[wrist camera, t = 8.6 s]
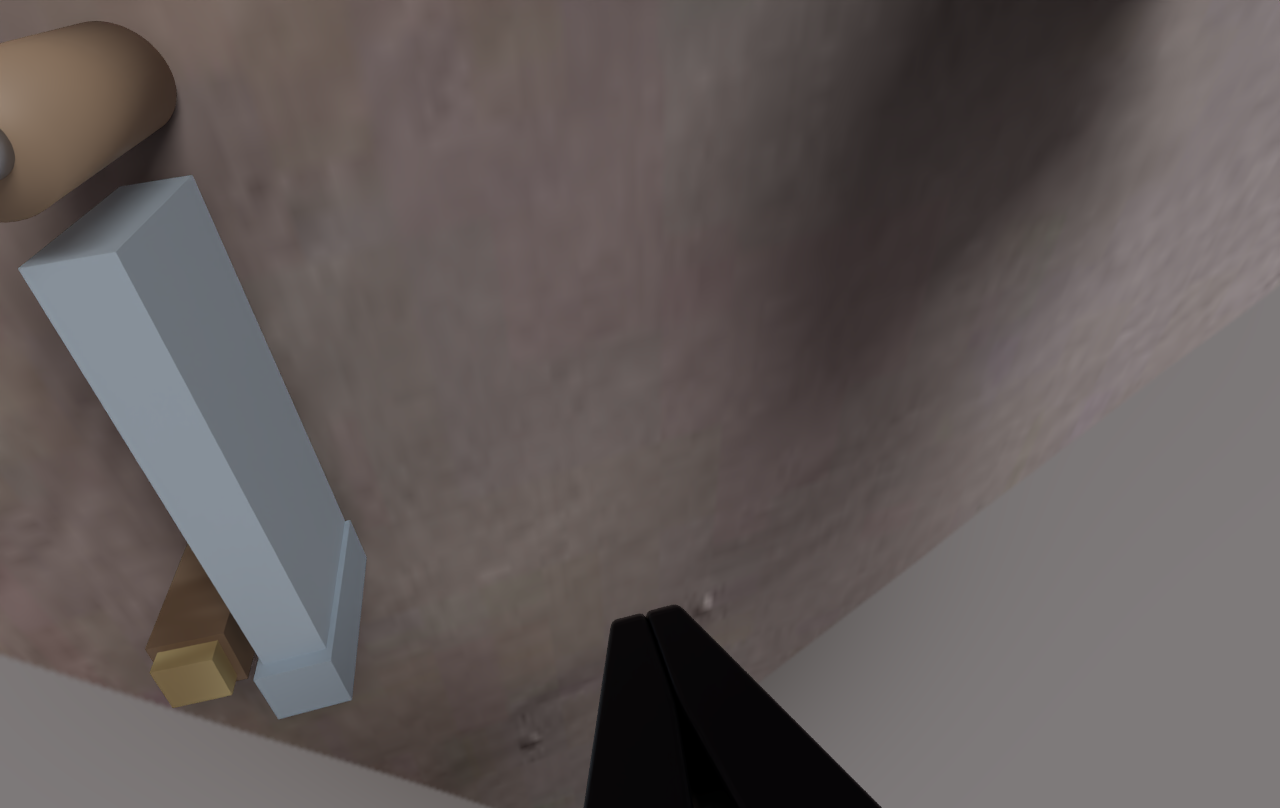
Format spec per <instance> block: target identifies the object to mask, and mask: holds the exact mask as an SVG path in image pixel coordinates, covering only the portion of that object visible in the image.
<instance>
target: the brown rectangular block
mask: <svg viewBox="0 0 1280 808" xmlns="http://www.w3.org/2000/svg"><path fill="white" fill-rule="evenodd" d="M145 650H146V652H147V653H148V655H149V656H150V658H151V659H152V661H153V662H154V663H153V665H152V668H151V671H150V674H151V676H152V677H153V679H154V680H155V682H156V683H157V685H158V686H159V688H160V689H161V691H162V692H163V694H164V695H165V697H166V698H167V700H168V702H169V703H170V705H171V706H172V708H175V707H180V706H184V705H189V704H193V703H198V702H202V701H207V700H212V699H216V698H221V697H225V696H230V695H232V694H233V690H234V686H235V682H236V681H239V680H243V679H248V677H249V672H250V668H251V664H252V660H253V656H254V652H255V651H254V649H253V648H252V646H251V644H250V643H249V641H248V640H247V638H246V636H245V635H244V633H243V632H242V630H241V628H240V627H239V625H238V623H237V622H236V620H235V619H234V617H233V615H232V614H231V612H230V611H229V609H228V607H227V606H226V604H225V602H224V601H223V599H222V598H221V596H220V594H219V593H218V591H217V590H216V588H215V586H214V585H213V583H212V581H211V580H210V578H209V577H208V575H207V573H206V572H205V570H204V569H203V567H202V565H201V564H200V562H199V560H198V559H197V557H196V556H195V554H194V552H193V551H192V549H191V548H190V546H189V544H187V546H186V549H185V551H184V554H183V556H182V559H181V561H180V564H179V566H178V569H177V571H176V574H175V576H174V579H173V581H172V584H171V586H170V589H169V591H168V594H167V596H166V599H165V601H164V604H163V606H162V608H161V611H160V613H159V616H158V618H157V621H156V623H155V626H154V628H153V631H152V633H151V636H150V638H149V641H148V643H147V646H146V648H145Z"/></svg>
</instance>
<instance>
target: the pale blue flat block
mask: <svg viewBox="0 0 1280 808" xmlns="http://www.w3.org/2000/svg"><path fill="white" fill-rule="evenodd" d="M176 97H177V93H176V85H175V81H174V78H173V75H172V72H171V70H170V68H169V66H168V65H167V63H166V61H165V60H164V58H163V57H162V56H161V55H160V53H159V52H158V51H157V50H156V49H155V48H154V47H153V46H152V45H151V44H150V43H149V42H148V41H146V40H145V39H144V38H142V37H141V36H140V35H138V34H137V33H135V32H133V31H131V30H129V29H127V28H125V27H122V26H120V25H116V24H113V23H108V22H101V21H90V22H84V23H79V24H75V25H71V26H67V27H63V28H59V29H55V30H51V31H47V32H43V33H39V34H35V35H31V36H27V37H23V38H19V39H15V40H11V41H7V42H3V43H0V222H15V221H20V220H24V219H28V218H30V217H33V216H36V215H37V214H39V213H41V212H43V211H44V210H46V209H47V208H48V207H50V206H51V205H53V204H54V203H55V202H57V201H58V200H60V199H61V198H63V197H64V196H65V195H67V194H68V193H70V192H71V191H72V190H74V189H75V188H77V187H78V186H79V185H81V184H82V183H84V182H85V181H86V180H88V179H89V178H91V177H92V176H93V175H95V174H96V173H98V172H99V171H101V170H102V169H103V168H105V167H106V166H108V165H109V164H110V163H112V162H113V161H115V160H116V159H117V158H119V157H120V156H122V155H123V154H124V153H126V152H127V151H129V150H130V149H132V148H133V147H134V146H136V145H137V144H139V143H140V142H141V141H143V140H144V139H146V138H147V137H148V136H150V135H151V134H153V133H154V132H155V131H157V130H158V129H160V128H161V127H162V126H163V125H165V124H166V123H167V121H168V120H169V119H170V117H171V116H172V114H173V112H174V109H175V105H176ZM18 269H19V271H20V273H21V274H22V276H23V278H24V279H25V281H26V282H27V284H28V286H29V287H30V289H31V290H32V292H33V294H34V295H35V297H36V299H37V300H38V302H39V303H40V305H41V307H42V308H43V310H44V312H45V313H46V315H47V316H48V318H49V320H50V321H51V323H52V324H53V326H54V328H55V329H56V331H57V333H58V334H59V336H60V337H61V339H62V341H63V342H64V344H65V345H66V347H67V349H68V350H69V352H70V354H71V355H72V357H73V358H74V360H75V362H76V363H77V365H78V366H79V368H80V370H81V371H82V373H83V375H84V376H85V378H86V379H87V381H88V383H89V384H90V386H91V387H92V389H93V391H94V392H95V394H96V396H97V397H98V399H99V400H100V402H101V404H102V405H103V407H104V408H105V410H106V412H107V413H108V415H109V417H110V418H111V420H112V421H113V423H114V425H115V426H116V428H117V430H118V431H119V433H120V434H121V436H122V438H123V439H124V441H125V442H126V444H127V446H128V447H129V449H130V451H131V452H132V454H133V455H134V457H135V459H136V460H137V462H138V463H139V465H140V467H141V468H142V470H143V472H144V473H145V475H146V476H147V478H148V480H149V481H150V483H151V484H152V486H153V488H154V489H155V491H156V493H157V494H158V496H159V497H160V499H161V501H162V502H163V504H164V505H165V507H166V509H167V510H168V512H169V514H170V515H171V517H172V518H173V520H174V522H175V523H176V525H177V526H178V528H179V530H180V531H181V533H182V535H183V536H184V538H185V539H186V541H187V543H188V544H189V546H190V548H191V549H192V551H193V552H194V554H195V556H196V557H197V559H198V560H199V562H200V564H201V565H202V567H203V569H204V570H205V572H206V573H207V575H208V577H209V578H210V580H211V581H212V583H213V585H214V586H215V588H216V590H217V591H218V593H219V594H220V596H221V598H222V599H223V601H224V602H225V604H226V606H227V607H228V609H229V611H230V612H231V614H232V615H233V617H234V619H235V620H236V622H237V623H238V625H239V627H240V628H241V630H242V632H243V633H244V635H245V636H246V638H247V640H248V641H249V643H250V644H251V646H252V648H253V649H254V651H255V653H256V654H257V656H258V657H259V659H258V663H257V667H256V671H255V676H254V682H255V683H256V685H257V687H258V688H259V690H260V691H261V693H262V694H263V696H264V697H265V699H266V701H267V702H268V704H269V705H270V707H271V708H272V710H273V711H274V713H275V715H276V716H277V718H278V719H282V718H286V717H289V716H293V715H297V714H301V713H305V712H308V711H312V710H316V709H320V708H324V707H327V706H331V705H335V704H339V703H343V702H346V701H350V700H352V694H353V685H354V675H355V665H356V656H357V646H358V636H359V627H360V617H361V607H362V598H363V588H364V578H365V569H366V559H367V557H366V555H365V553H364V550H363V548H362V546H361V543H360V541H359V539H358V537H357V534H356V532H355V530H354V527H353V525H352V523H351V521H350V520H348V521H345V520H344V517H343V515H342V513H341V511H340V508H339V506H338V504H337V502H336V499H335V497H334V495H333V492H332V490H331V488H330V486H329V483H328V481H327V479H326V477H325V474H324V472H323V470H322V468H321V465H320V463H319V461H318V458H317V456H316V454H315V452H314V449H313V447H312V445H311V443H310V440H309V438H308V436H307V434H306V431H305V429H304V427H303V424H302V422H301V420H300V418H299V415H298V413H297V411H296V409H295V406H294V404H293V402H292V400H291V397H290V395H289V393H288V390H287V388H286V386H285V384H284V381H283V379H282V377H281V375H280V372H279V370H278V368H277V366H276V363H275V361H274V359H273V356H272V354H271V352H270V350H269V347H268V345H267V343H266V341H265V338H264V336H263V334H262V332H261V329H260V327H259V325H258V322H257V320H256V318H255V316H254V313H253V311H252V309H251V307H250V304H249V302H248V300H247V298H246V295H245V293H244V291H243V288H242V286H241V284H240V282H239V279H238V277H237V275H236V273H235V270H234V268H233V266H232V264H231V261H230V259H229V257H228V254H227V252H226V250H225V248H224V245H223V243H222V241H221V239H220V236H219V234H218V232H217V230H216V227H215V225H214V223H213V220H212V218H211V216H210V214H209V211H208V209H207V207H206V205H205V202H204V200H203V198H202V196H201V193H200V191H199V189H198V186H197V184H196V182H195V180H194V177H193V175H189V176H183V177H176V178H170V179H164V180H157V181H151V182H145V183H139V184H132V185H126V186H120V187H119V188H117V189H116V190H115V191H114V192H112V193H111V194H110V195H109V196H107V197H106V198H105V199H104V200H102V201H101V202H100V203H99V204H98V205H96V206H95V207H94V208H93V209H91V210H90V211H89V212H88V213H86V214H85V215H84V216H83V217H81V218H80V219H79V220H78V221H76V222H75V223H74V224H73V225H71V226H70V227H69V228H68V229H66V230H65V231H64V232H63V233H62V234H60V235H59V236H58V237H57V238H55V239H54V240H53V241H52V242H50V243H49V244H48V245H47V246H45V247H44V248H43V249H42V250H40V251H39V252H38V253H37V254H35V255H34V256H33V257H32V258H30V259H29V260H28V261H27V262H26V263H24V264H23V265H22V266H21V267H19V268H18Z"/></svg>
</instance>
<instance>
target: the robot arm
mask: <svg viewBox="0 0 1280 808" xmlns="http://www.w3.org/2000/svg"><path fill="white" fill-rule="evenodd" d="M584 808H881V806H879V804H877V802H875V801H874V799H873V798H871V796H869V795H868V793H867V792H866V791H865V790H864V789H863V788H862V787H860V785H859V784H858V783H857V782H856V781H855V780H854V779H853V778H852V777H850V775H849V774H848V773H846V772H845V770H844V769H843V768H842V767H841V766H840V765H838V763H836V762H835V760H834V759H832V757H831V756H830V755H829V754H828V753H827V752H826V751H825V750H824V749H823V748H822V747H821V746H820V745H819V744H818V743H817V742H816V741H815V740H814V739H813V738H812V737H811V736H810V735H809V734H808V733H807V732H806V731H805V730H804V729H803V728H802V727H801V726H800V725H799V724H798V723H797V722H796V721H795V720H794V719H793V718H791V716H789V714H788V713H787V712H786V711H785V710H784V709H783V708H782V707H781V706H780V705H779V704H778V703H777V702H776V701H775V700H774V699H773V698H772V697H771V696H770V695H769V694H767V692H766V691H765V690H764V689H763V688H762V687H761V686H760V685H759V684H758V683H757V682H756V681H755V680H754V679H753V678H752V677H751V676H750V675H749V674H748V673H747V672H746V671H745V670H744V669H743V668H742V667H741V666H740V665H739V664H738V663H737V662H736V661H735V660H734V659H733V658H732V657H731V656H730V655H729V654H728V653H727V652H726V651H725V650H724V649H723V648H722V647H721V646H720V645H719V644H718V643H717V642H716V641H715V640H714V639H713V638H712V637H711V636H710V635H709V634H708V633H707V632H706V631H705V630H704V629H703V628H702V627H701V626H700V625H699V624H698V623H697V622H696V621H695V620H694V619H693V618H692V617H691V616H690V615H689V614H688V613H687V612H686V611H685V610H684V609H683V608H681V607H680V606H678V605H670V606H666V607H662V608H658V609H654V610H651V611H649V612H648V613H647V615H646V617H645V616H644V615H643V614H635V615H631V616H628V617H624V618H620V619H616V620H614V621H613V622H612V624H611V628H610V634H609V641H608V648H607V654H606V661H605V668H604V675H603V681H602V688H601V695H600V702H599V708H598V715H597V722H596V728H595V735H594V742H593V749H592V755H591V762H590V769H589V776H588V782H587V789H586V796H585V803H584Z"/></svg>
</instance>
